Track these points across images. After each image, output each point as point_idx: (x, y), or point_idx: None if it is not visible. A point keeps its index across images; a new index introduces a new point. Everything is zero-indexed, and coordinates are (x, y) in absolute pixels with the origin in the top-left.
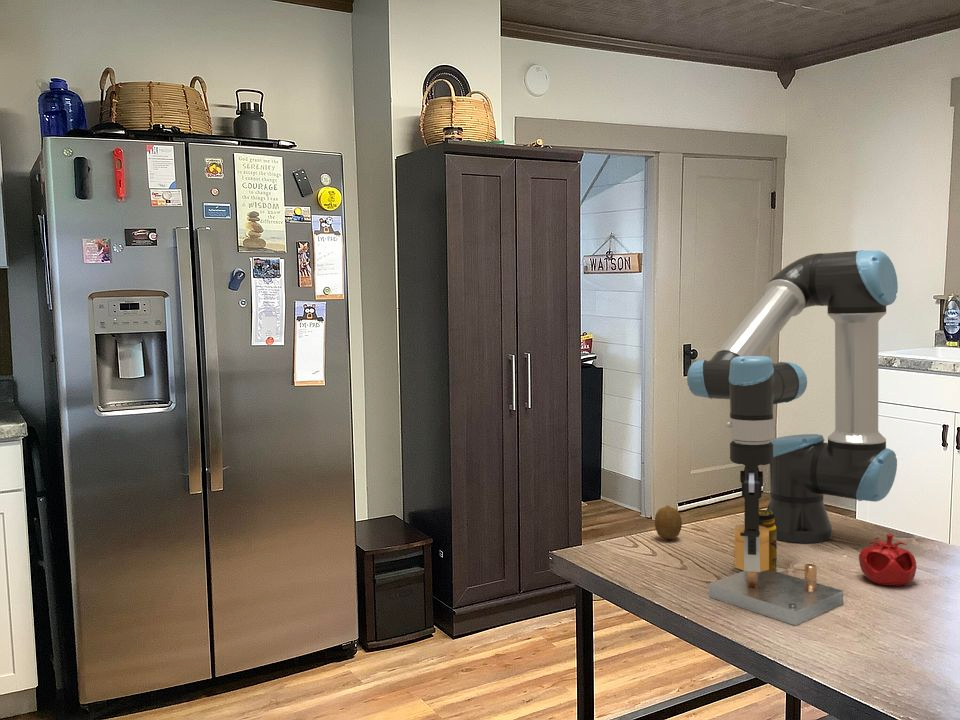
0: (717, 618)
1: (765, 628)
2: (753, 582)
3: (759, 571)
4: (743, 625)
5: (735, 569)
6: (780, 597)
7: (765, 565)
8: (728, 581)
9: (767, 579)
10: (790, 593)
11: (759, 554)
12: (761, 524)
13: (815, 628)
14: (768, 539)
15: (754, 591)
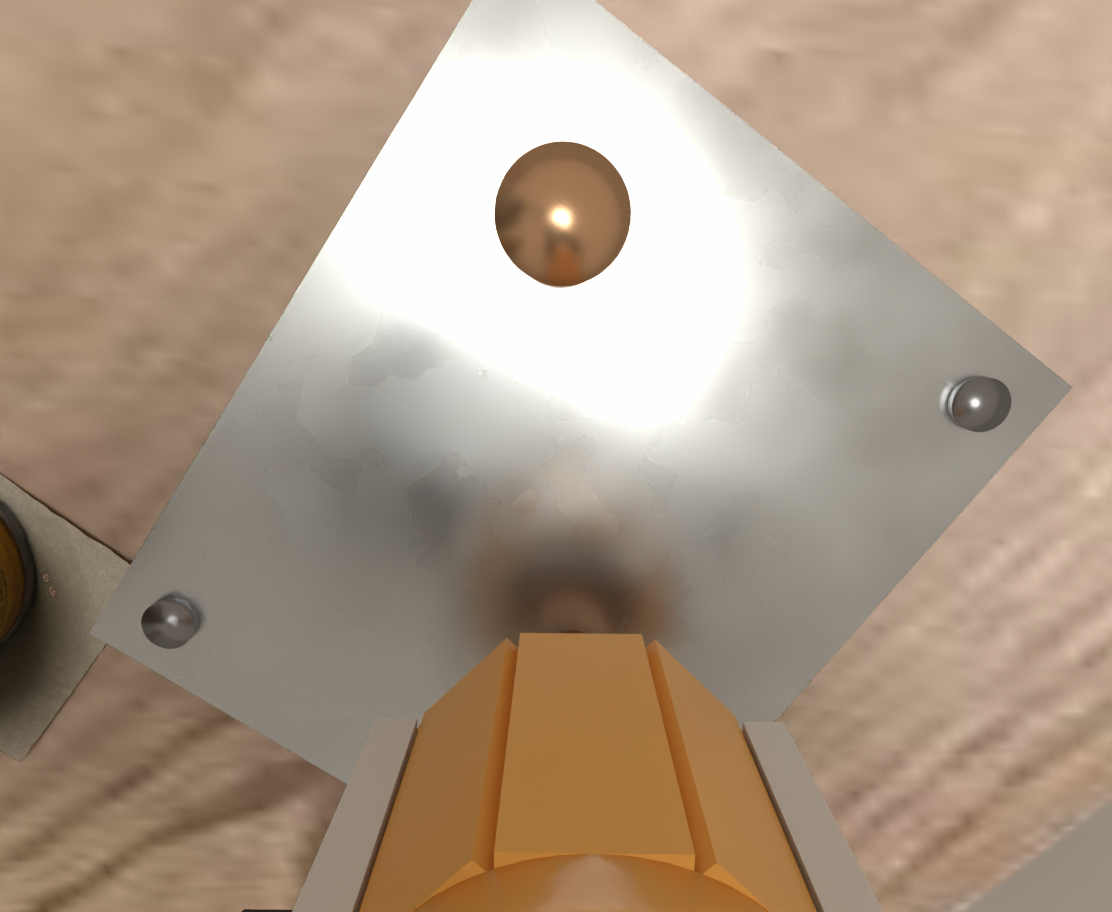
0: (924, 799)
1: (1055, 552)
2: None
3: (784, 728)
4: (1018, 669)
5: (16, 724)
6: (785, 482)
7: (690, 694)
8: None
9: (388, 563)
10: (679, 405)
11: (856, 868)
12: None
13: (1031, 247)
14: (662, 894)
15: (687, 655)
